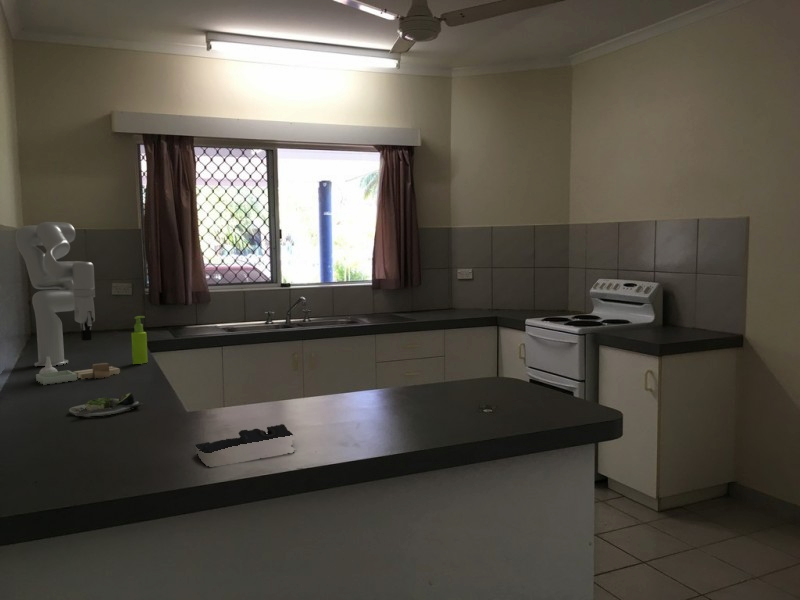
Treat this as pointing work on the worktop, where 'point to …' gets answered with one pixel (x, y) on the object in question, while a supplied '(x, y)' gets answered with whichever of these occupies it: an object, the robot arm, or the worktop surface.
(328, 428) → the worktop surface
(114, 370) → the board
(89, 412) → the salad plate
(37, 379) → the dish
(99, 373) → the block
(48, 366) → the garlic bulb
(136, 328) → the soap dispenser
